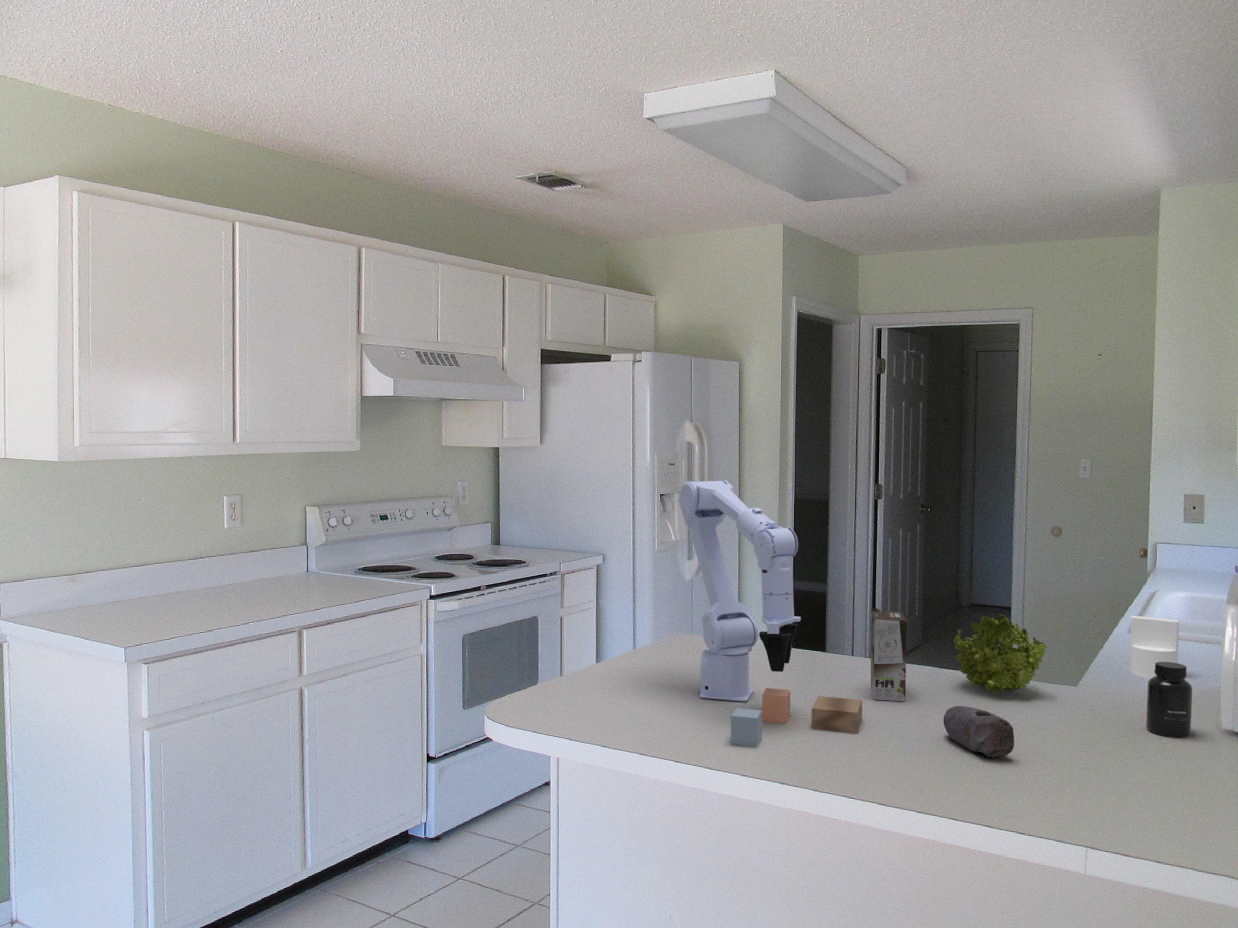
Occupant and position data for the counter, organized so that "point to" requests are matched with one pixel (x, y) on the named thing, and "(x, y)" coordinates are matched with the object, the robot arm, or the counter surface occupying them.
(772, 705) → the terracotta block
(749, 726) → the slate-grey block
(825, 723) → the walnut block
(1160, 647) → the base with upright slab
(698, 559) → the robot arm
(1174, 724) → the supplement bottle
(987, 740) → the perforated stone tool
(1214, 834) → the counter surface
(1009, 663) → the lettuce head
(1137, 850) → the counter surface
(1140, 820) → the counter surface
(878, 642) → the coffee box
